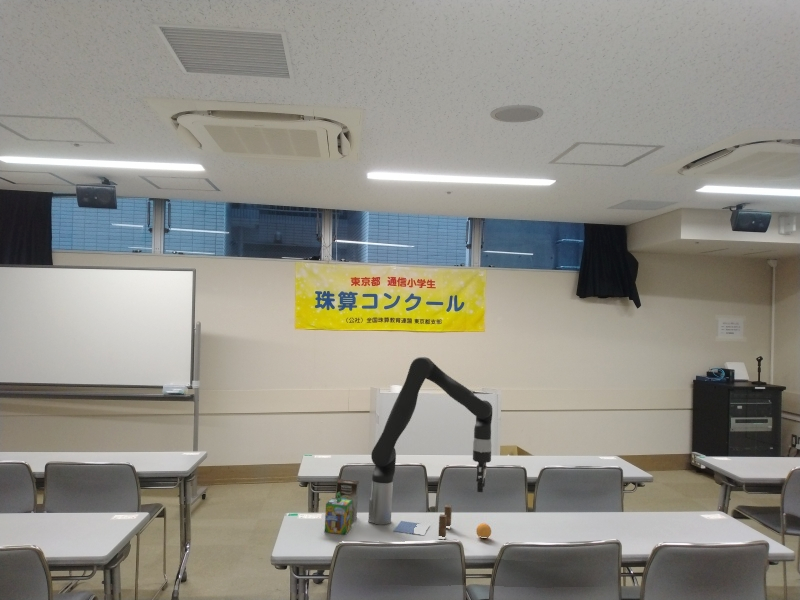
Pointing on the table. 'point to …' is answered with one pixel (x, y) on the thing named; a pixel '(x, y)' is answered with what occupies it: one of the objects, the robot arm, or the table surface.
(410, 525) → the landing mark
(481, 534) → the ball
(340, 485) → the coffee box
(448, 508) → the post
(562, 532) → the table surface
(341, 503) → the chalk box
